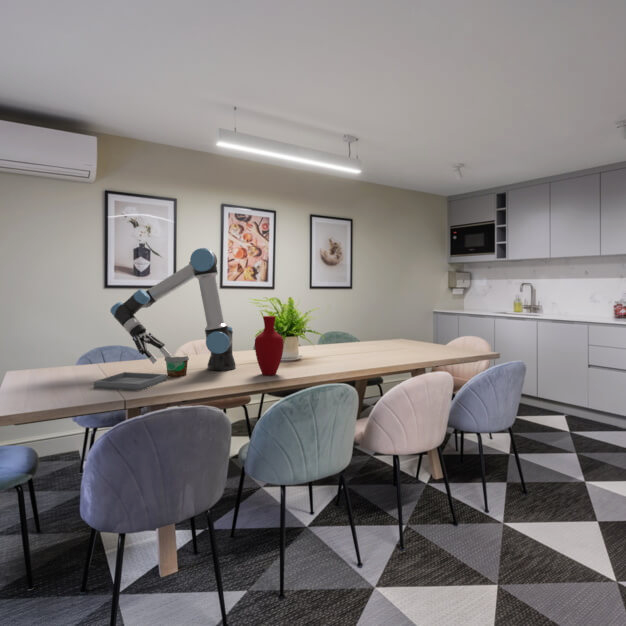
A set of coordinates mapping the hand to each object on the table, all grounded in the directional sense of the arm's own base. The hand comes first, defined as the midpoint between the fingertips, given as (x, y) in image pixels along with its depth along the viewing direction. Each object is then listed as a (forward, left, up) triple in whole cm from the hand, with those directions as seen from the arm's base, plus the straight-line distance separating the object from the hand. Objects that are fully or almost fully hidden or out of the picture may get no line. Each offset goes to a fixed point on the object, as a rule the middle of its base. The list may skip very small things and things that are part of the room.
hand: (162, 359), depth 220 cm
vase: (-50, -16, -8) cm, 54 cm away
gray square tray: (+4, +21, -8) cm, 23 cm away
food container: (-6, 0, -8) cm, 11 cm away
